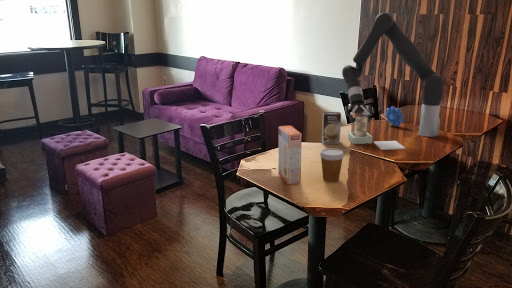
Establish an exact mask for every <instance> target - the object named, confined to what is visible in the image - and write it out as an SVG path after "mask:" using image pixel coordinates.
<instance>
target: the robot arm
mask: <svg viewBox="0 0 512 288" xmlns="http://www.w3.org/2000/svg"><path fill="white" fill-rule="evenodd" d="M400 28H401V27H399V26H398V24H397V22H396V20H395V19H394V18H393V15H392V14H390V13H389V12H380V13H379V14H378V15H377V16H376V17H375V19H374V22H373V25H372V27H371V29H370V32H369V33H368V35H367V37H366V38H365V39H364V41H363V43H362V44H361V45H360V47H359V48H358V50H357V51H356V53H355V55H354V56H353V58H352V61H353V63H355V66H354V65H350V64H347V65H345V66H343V68H342V71H341V74H342V77H343V79H344V83H346V86H347V92H348V99H349V105H348V104H346V105H345V107H344V113H345V114H344V115H345V117H348V118H349V122H350V123H351V124H355V118H354V114H362V115H363V116H365V117H366V118H367V124H370V123H371V121H372V118H371V117H372V116H373V114H374V111H373V108H372V104H368V105H366V104H365V98H364V95H363V94H364V93H363V90H362V86H361V82H360V80H359V79H360V77H361V75H362V73H363V69H364V67H365V65H366V62H367V61H368V59H369V58H370V56H371V54H372V53H373V51H374V49H375V48H376V45H377V44H378V43H379V41H380V39H381V38H382V36H383V35H385V36H386V37H387V39H389V41H390V43H391V44H392V47H393V48H394V50H395V52H396V53H397V55H398V56H399V58H401V60H402V61H403V62H404V63H405V64H406V65H407V67H409V68H410V70H412V71H413V72H414V73H415V74H416V76H418V78H419V79H420V82H421V83H422V85H423V94H422V99H421V106H420V107H421V109H420V116H419V126H418V135H420V136H422V137H429V138H430V137H431V138H433V137H437V136H439V133H440V132H439V131H440V124H441V123H440V122H441V119H440V109H441V102H442V98H443V94H444V93H443V91H444V79H443V78H442V76H440V75H439V74H438V73H436V72H435V71H434V70H433V68H432V67H431V66H430V65H429V63H427V61H426V59H425V58H424V55H423V54H422V52H421V51H420V49H419V48H418V47H417V46H416V44H415V43H414V42H413V41H412V39H410V38H409V36H407V35H406V34H405V33H404V32H403V31H402V29H400ZM350 110H351V112H349V111H350Z"/></svg>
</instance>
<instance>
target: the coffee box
mask: <svg viewBox="0 0 512 288" xmlns="http://www.w3.org/2000/svg"><path fill="white" fill-rule="evenodd" d="M341 123H342V113H341V112H340V111H322V123H321V124H322V125H321V126H322V127H321V129H322V130H321V144H323V145H340V143H341V142H340V139H341V127H342V124H341Z"/></svg>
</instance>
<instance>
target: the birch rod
mask: <svg viewBox="0 0 512 288" xmlns="http://www.w3.org/2000/svg"><path fill="white" fill-rule="evenodd" d="M367 131H368V122H367V116H366V115H358V116H357V115H356V116H355V117H354V131H353V132H354V137H366V133H368V132H367Z"/></svg>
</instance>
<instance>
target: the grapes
mask: <svg viewBox="0 0 512 288" xmlns="http://www.w3.org/2000/svg"><path fill="white" fill-rule="evenodd" d="M384 116H385V117H386V122H388V123H390V125H391V126H392V127H395V126H396V127H400V126H401V124H403V123H404V113H402V112H401V109H400V108H399V107H397V108H396V107H395V106H393V105H391V107H387V108H386V112H385V113H384Z"/></svg>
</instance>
